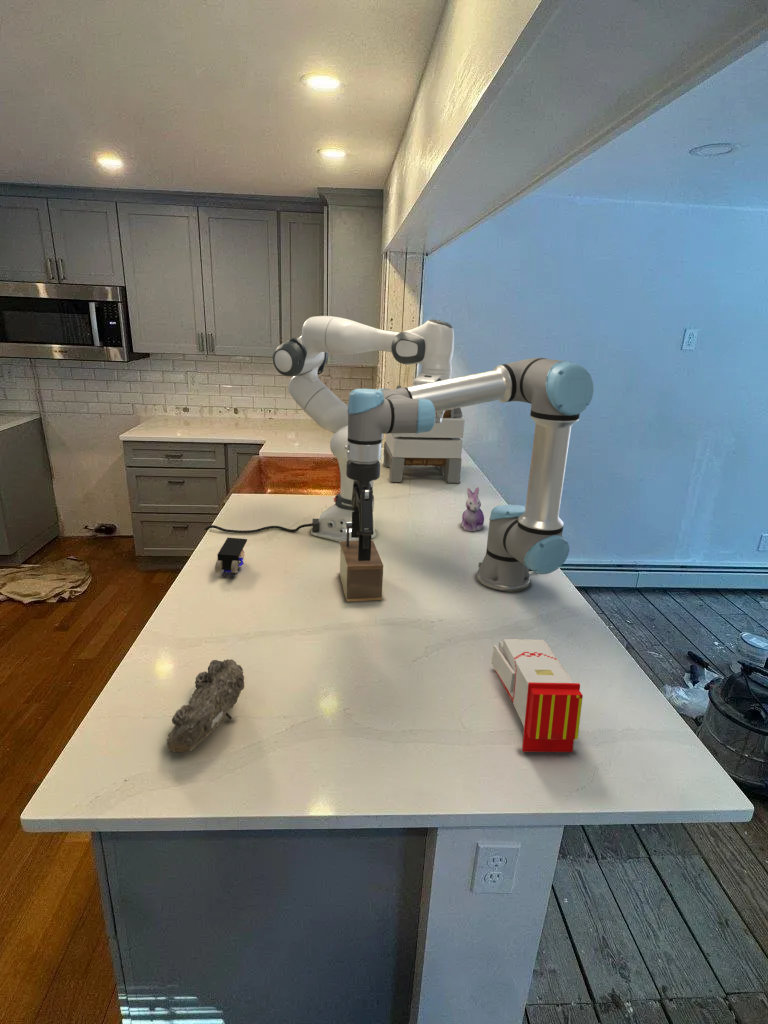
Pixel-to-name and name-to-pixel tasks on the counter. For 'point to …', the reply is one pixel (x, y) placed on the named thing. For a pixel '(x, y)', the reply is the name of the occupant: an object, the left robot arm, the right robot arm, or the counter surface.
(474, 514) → the figurine
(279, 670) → the counter surface
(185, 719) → the fossil
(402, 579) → the counter surface
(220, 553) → the black wheeled rover
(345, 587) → the chest
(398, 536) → the counter surface
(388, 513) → the counter surface
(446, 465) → the transformer
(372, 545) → the lid
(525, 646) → the toy
